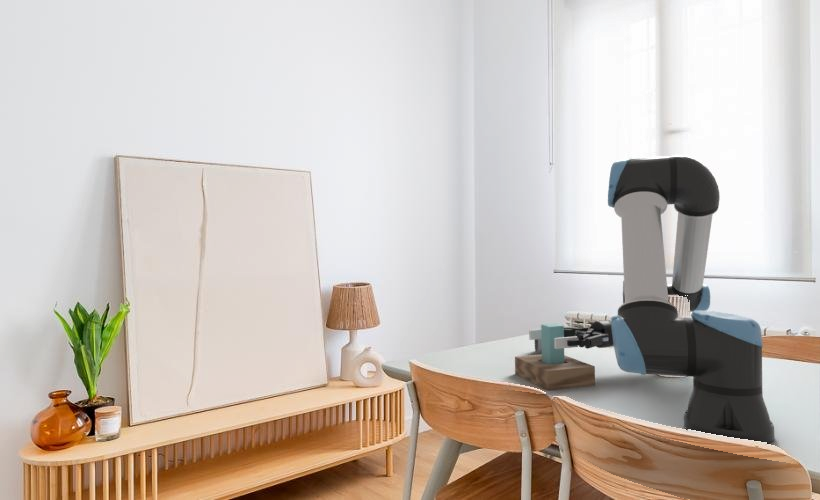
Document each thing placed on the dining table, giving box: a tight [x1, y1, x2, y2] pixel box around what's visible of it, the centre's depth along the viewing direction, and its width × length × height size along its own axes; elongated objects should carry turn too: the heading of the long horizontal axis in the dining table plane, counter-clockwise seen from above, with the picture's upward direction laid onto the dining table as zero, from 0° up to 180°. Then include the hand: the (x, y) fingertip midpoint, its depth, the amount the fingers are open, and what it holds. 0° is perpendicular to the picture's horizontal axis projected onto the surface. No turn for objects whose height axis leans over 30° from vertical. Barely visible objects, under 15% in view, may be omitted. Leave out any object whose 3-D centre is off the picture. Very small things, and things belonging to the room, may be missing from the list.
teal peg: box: [540, 323, 565, 365], centre depth 143 cm, size 4×4×14 cm
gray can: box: [534, 339, 542, 355], centre depth 178 cm, size 11×8×8 cm
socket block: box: [514, 354, 596, 391], centre depth 144 cm, size 18×14×5 cm
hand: (541, 339), depth 143 cm, fingers open, 13 cm apart
